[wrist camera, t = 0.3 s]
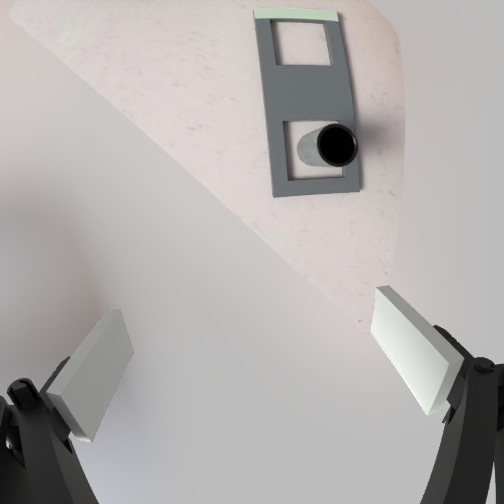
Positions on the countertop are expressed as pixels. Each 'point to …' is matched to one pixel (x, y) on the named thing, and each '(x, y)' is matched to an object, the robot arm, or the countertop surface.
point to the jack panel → (304, 98)
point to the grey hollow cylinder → (328, 146)
